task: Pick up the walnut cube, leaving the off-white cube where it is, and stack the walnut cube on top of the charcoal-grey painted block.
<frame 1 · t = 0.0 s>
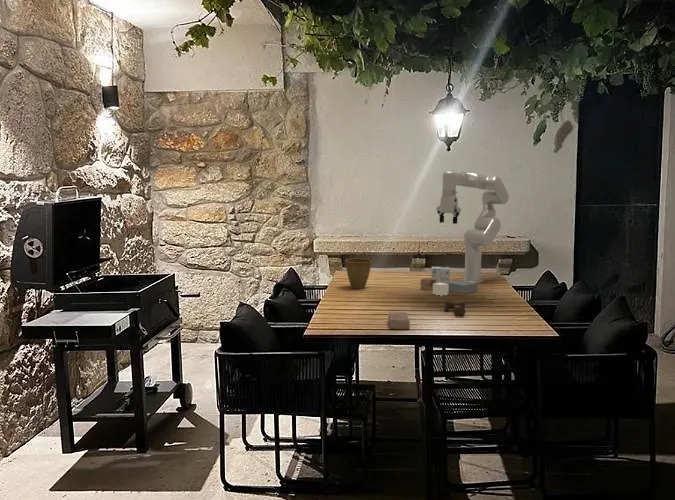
hand: (448, 223, 369), 37 cm above the table, tool pointing down, fingers open, 9 cm apart
base block: (461, 291, 359), on the table
plant pot: (358, 288, 368), on the table
brick: (398, 326, 281), on the table
light bulb box: (440, 285, 376), on the table
kendama: (455, 313, 306), on the table
walnut cube: (428, 289, 363), on the table
off-white cube: (440, 294, 349), on the table
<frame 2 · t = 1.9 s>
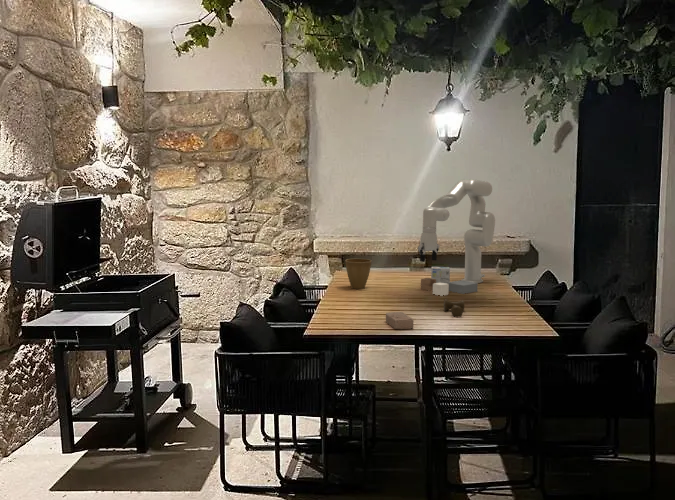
hand: (428, 260, 361), 16 cm above the table, tool pointing down, fingers open, 9 cm apart
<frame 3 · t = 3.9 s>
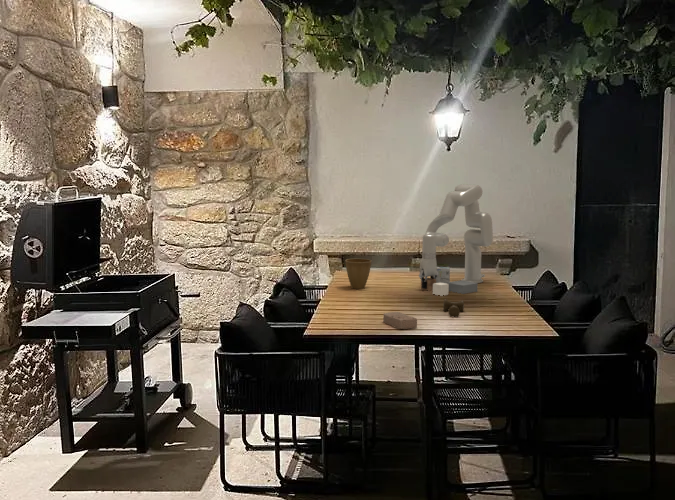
hand: (428, 287, 363), 1 cm above the table, tool pointing down, fingers closed on walnut cube, 6 cm apart
walnut cube: (428, 289, 363), on the table, touching gripper
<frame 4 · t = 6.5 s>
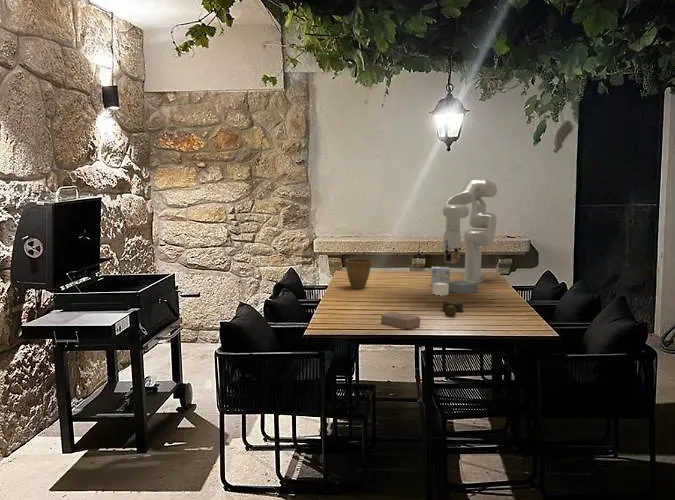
hand: (452, 260, 359), 17 cm above the table, tool pointing down, fingers closed on walnut cube, 6 cm apart
walnut cube: (452, 262, 359), point 16 cm above the table, touching gripper
when the fingers open (7 cm above the table, at t = 9.2 s): walnut cube drops 2 cm, resting on base block.
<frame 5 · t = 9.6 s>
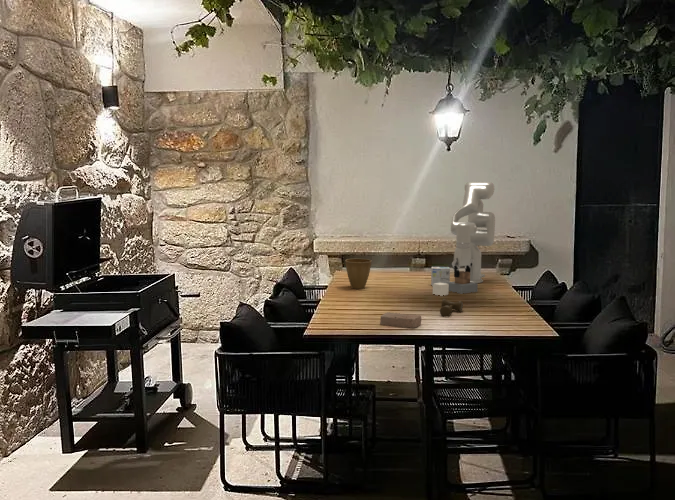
hand: (462, 276, 358), 8 cm above the table, tool pointing down, fingers open, 9 cm apart
base block: (461, 291, 359), on the table, touching walnut cube
walnut cube: (462, 282, 359), point 5 cm above the table, touching base block
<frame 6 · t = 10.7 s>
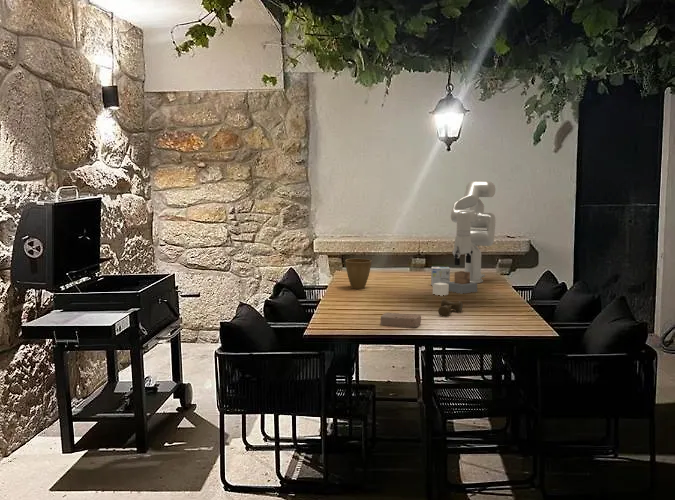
hand: (462, 264, 358), 15 cm above the table, tool pointing down, fingers open, 9 cm apart
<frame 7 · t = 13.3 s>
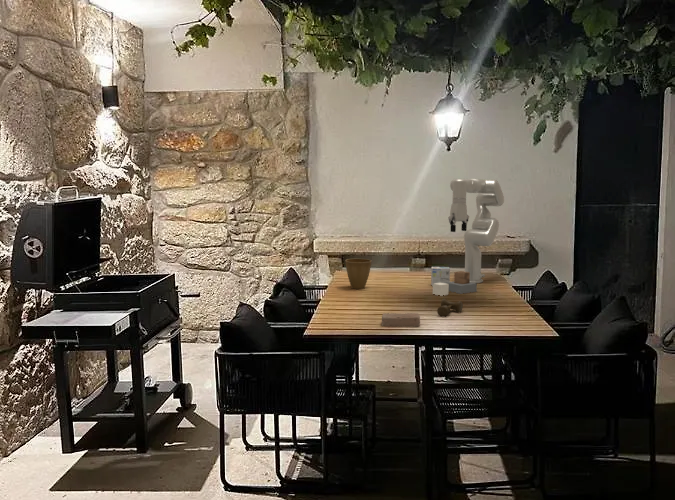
hand: (458, 231, 367), 32 cm above the table, tool pointing down, fingers open, 9 cm apart
base block: (460, 291, 359), on the table
walnut cube: (461, 282, 359), point 5 cm above the table
at the end: walnut cube 0.5 cm off-centre on the base block, point 5.0 cm above the base block's base; walnut cube tilted 0°; the gripper is holding nothing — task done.
